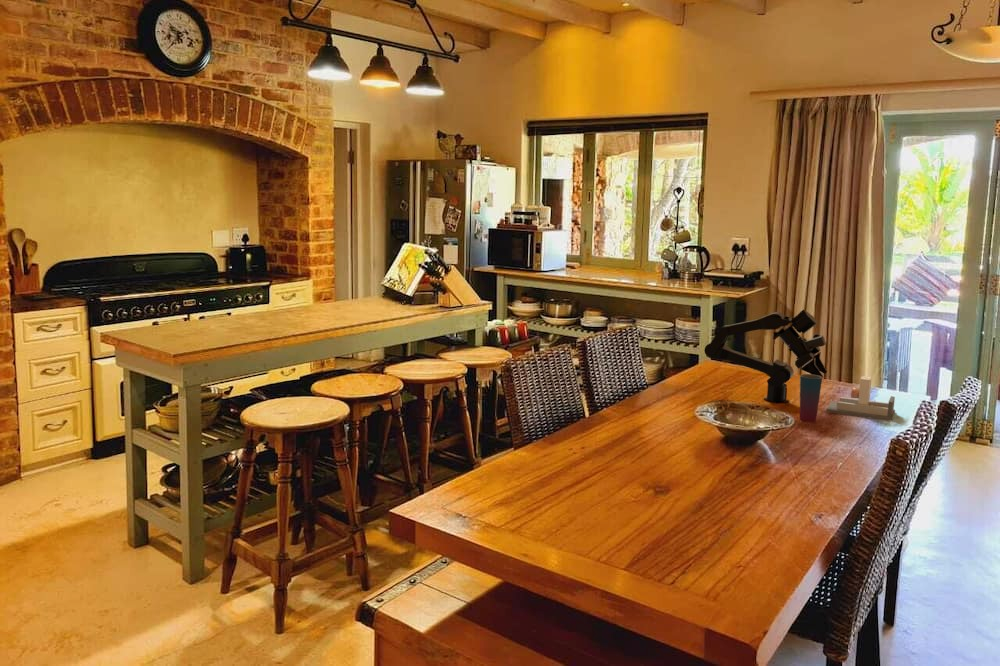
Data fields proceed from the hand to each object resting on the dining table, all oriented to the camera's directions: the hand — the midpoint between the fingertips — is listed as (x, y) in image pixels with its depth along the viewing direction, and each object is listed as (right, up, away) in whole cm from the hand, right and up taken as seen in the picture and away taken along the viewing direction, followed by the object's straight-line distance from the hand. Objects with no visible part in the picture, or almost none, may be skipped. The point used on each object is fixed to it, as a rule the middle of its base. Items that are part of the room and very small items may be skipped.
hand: (824, 375), depth 270 cm
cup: (-12, -14, -14) cm, 23 cm away
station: (+11, -13, -5) cm, 17 cm away
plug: (+10, -11, -5) cm, 16 cm away
